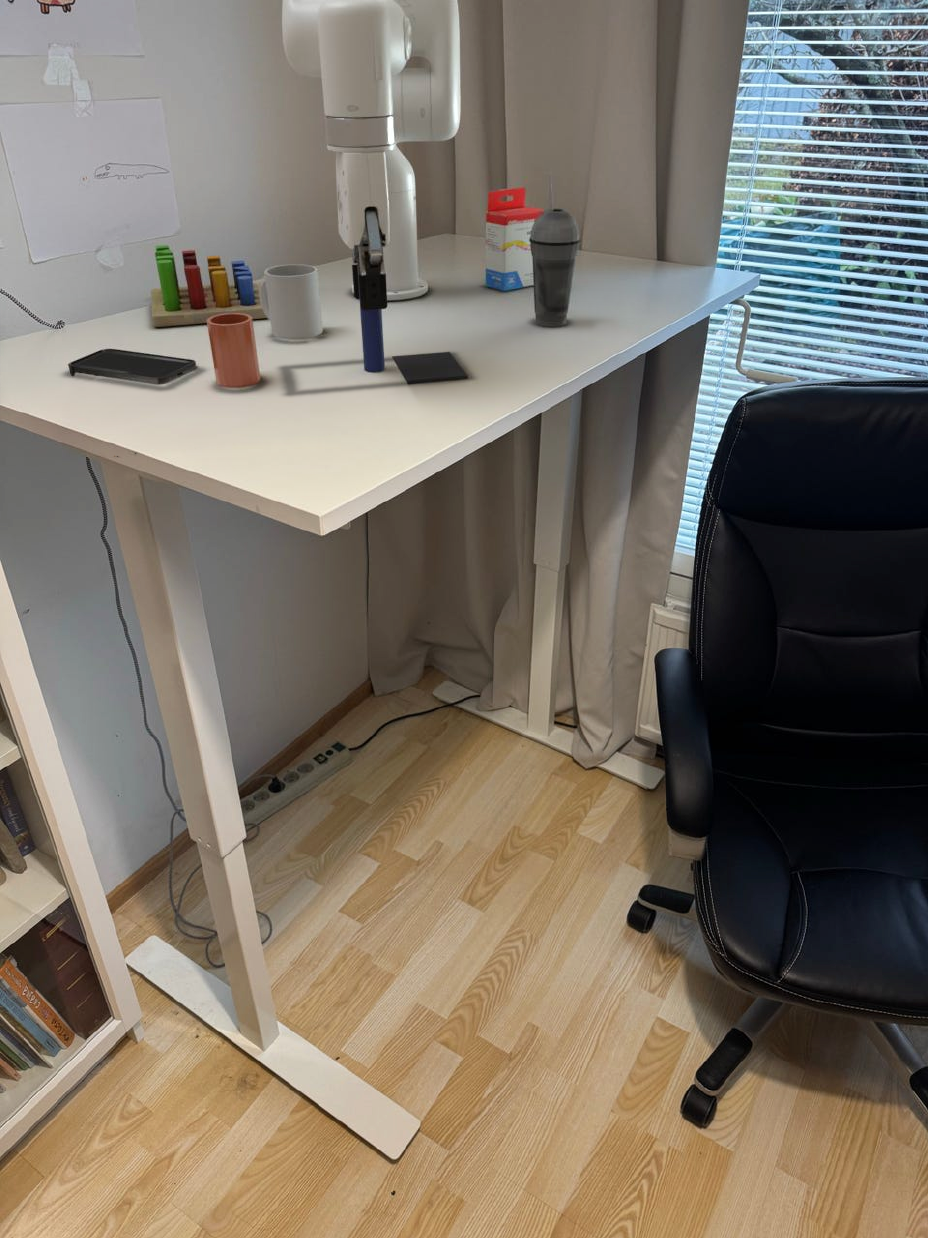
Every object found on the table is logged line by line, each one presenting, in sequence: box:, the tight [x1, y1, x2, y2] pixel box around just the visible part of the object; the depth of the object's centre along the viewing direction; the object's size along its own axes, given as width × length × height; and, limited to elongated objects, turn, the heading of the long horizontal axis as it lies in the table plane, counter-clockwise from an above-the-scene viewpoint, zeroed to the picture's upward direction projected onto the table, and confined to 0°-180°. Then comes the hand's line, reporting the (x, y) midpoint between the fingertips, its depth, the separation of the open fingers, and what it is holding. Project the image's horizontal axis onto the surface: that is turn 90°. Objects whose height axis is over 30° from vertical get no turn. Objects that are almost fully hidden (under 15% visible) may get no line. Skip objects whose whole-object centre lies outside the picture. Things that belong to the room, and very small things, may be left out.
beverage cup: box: [529, 172, 581, 328], centre depth 127 cm, size 7×7×20 cm
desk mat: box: [391, 351, 469, 385], centre depth 114 cm, size 10×22×1 cm, turn 104°
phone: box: [67, 348, 197, 385], centre depth 114 cm, size 8×1×15 cm
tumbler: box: [206, 313, 261, 389], centre depth 108 cm, size 5×5×8 cm
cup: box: [259, 263, 324, 340], centre depth 126 cm, size 7×10×9 cm
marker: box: [357, 256, 386, 374], centre depth 110 cm, size 3×3×14 cm
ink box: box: [485, 186, 544, 292], centre depth 147 cm, size 8×5×15 cm, turn 129°
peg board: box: [150, 244, 268, 328], centre depth 137 cm, size 18×17×9 cm
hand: (370, 301), depth 109 cm, fingers open, 4 cm apart
